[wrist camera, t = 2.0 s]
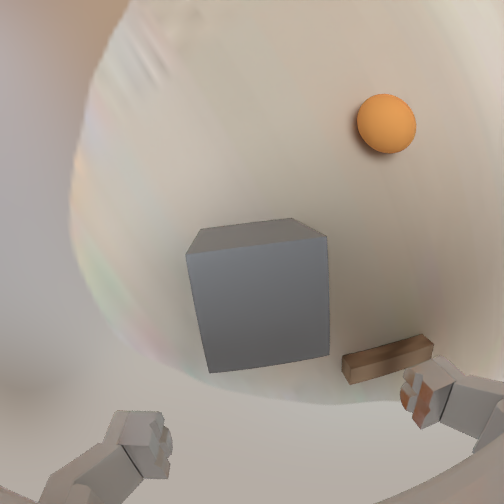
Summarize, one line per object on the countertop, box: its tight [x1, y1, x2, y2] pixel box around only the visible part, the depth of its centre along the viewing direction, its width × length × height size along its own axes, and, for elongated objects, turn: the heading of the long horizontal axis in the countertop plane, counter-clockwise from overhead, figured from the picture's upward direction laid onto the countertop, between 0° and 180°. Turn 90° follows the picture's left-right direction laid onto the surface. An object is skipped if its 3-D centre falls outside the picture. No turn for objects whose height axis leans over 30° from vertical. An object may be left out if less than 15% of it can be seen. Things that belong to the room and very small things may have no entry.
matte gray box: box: [185, 218, 330, 373], centre depth 20 cm, size 7×7×9 cm
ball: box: [357, 94, 416, 153], centre depth 20 cm, size 5×5×5 cm
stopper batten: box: [342, 334, 434, 385], centre depth 27 cm, size 10×2×2 cm, turn 97°
